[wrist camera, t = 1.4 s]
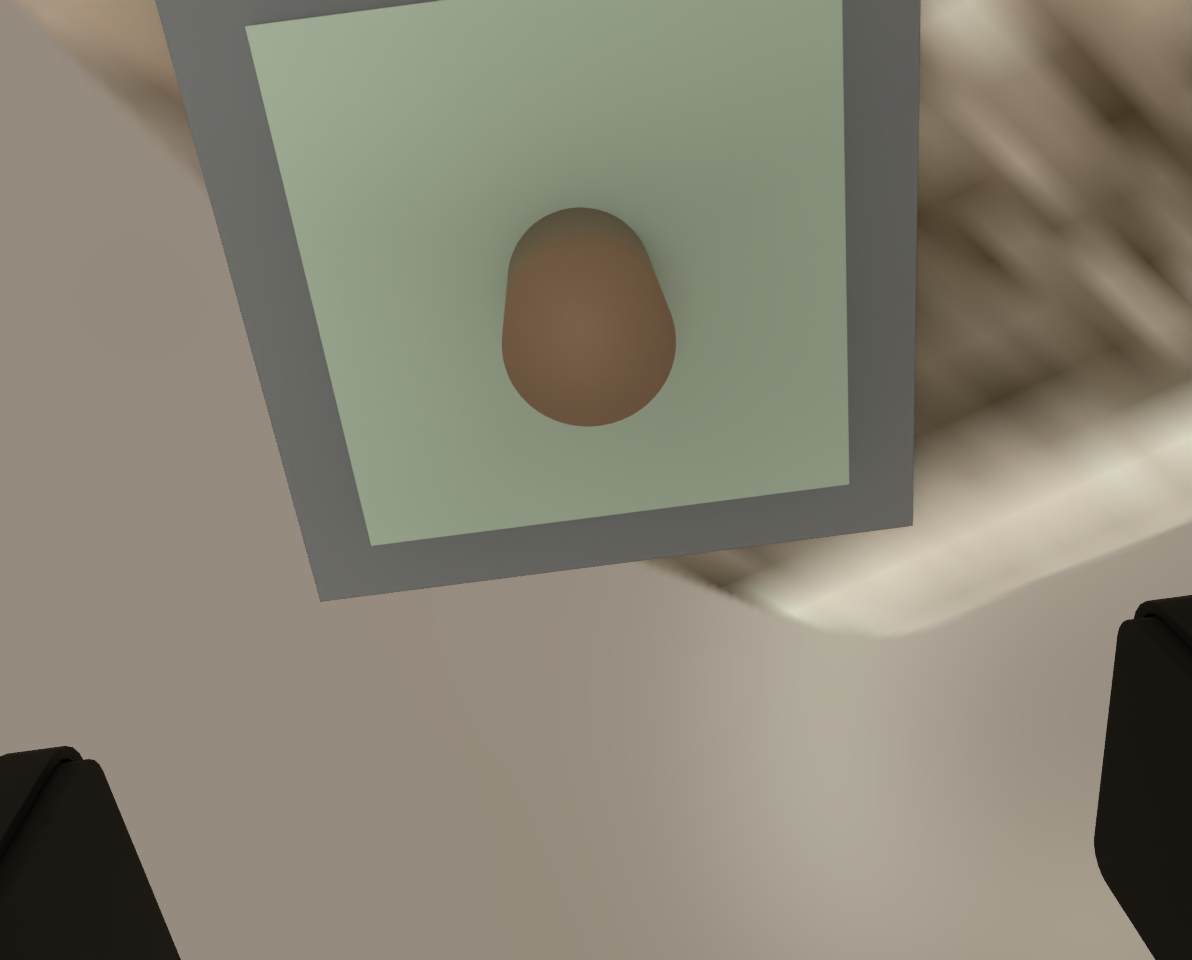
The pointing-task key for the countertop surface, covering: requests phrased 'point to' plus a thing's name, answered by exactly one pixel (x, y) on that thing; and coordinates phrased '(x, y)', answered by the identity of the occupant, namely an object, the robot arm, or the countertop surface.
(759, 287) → the lid
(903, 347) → the mat
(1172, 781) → the robot arm
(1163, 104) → the countertop surface
